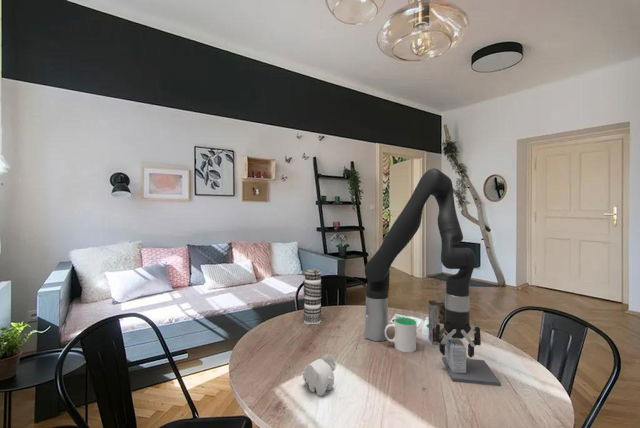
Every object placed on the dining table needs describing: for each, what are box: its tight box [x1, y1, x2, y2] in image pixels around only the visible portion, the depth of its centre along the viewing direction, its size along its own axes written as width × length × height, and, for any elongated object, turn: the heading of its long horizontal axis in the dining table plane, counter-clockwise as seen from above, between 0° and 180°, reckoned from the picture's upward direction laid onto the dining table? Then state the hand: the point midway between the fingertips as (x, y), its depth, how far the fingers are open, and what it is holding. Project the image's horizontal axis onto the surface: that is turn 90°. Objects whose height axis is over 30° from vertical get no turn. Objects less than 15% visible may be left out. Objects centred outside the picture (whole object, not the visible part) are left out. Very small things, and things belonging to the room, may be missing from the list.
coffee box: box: [427, 300, 446, 346], centre depth 123 cm, size 9×6×16 cm
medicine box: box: [445, 337, 467, 373], centre depth 101 cm, size 8×4×9 cm, turn 171°
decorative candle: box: [302, 267, 323, 325], centre depth 144 cm, size 9×9×25 cm
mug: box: [385, 316, 417, 353], centre depth 118 cm, size 12×8×10 cm, turn 86°
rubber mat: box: [441, 356, 502, 387], centre depth 100 cm, size 14×14×1 cm
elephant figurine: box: [298, 353, 337, 397], centre depth 91 cm, size 10×12×9 cm
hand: (456, 355), depth 101 cm, fingers open, 8 cm apart
